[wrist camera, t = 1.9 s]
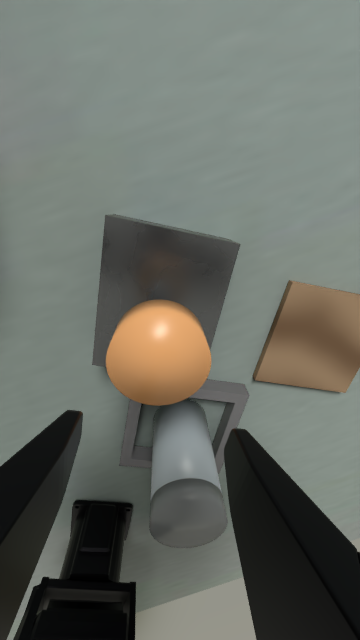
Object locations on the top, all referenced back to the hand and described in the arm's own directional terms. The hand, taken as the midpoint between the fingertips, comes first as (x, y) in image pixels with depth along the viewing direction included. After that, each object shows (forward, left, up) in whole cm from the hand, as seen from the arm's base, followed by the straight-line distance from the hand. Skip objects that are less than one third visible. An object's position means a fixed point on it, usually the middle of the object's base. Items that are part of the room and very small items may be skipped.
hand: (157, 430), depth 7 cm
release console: (0, 0, -13) cm, 13 cm away
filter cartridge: (-12, -4, -13) cm, 18 cm away
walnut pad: (-2, -14, -13) cm, 19 cm away
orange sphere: (0, 0, -8) cm, 8 cm away
